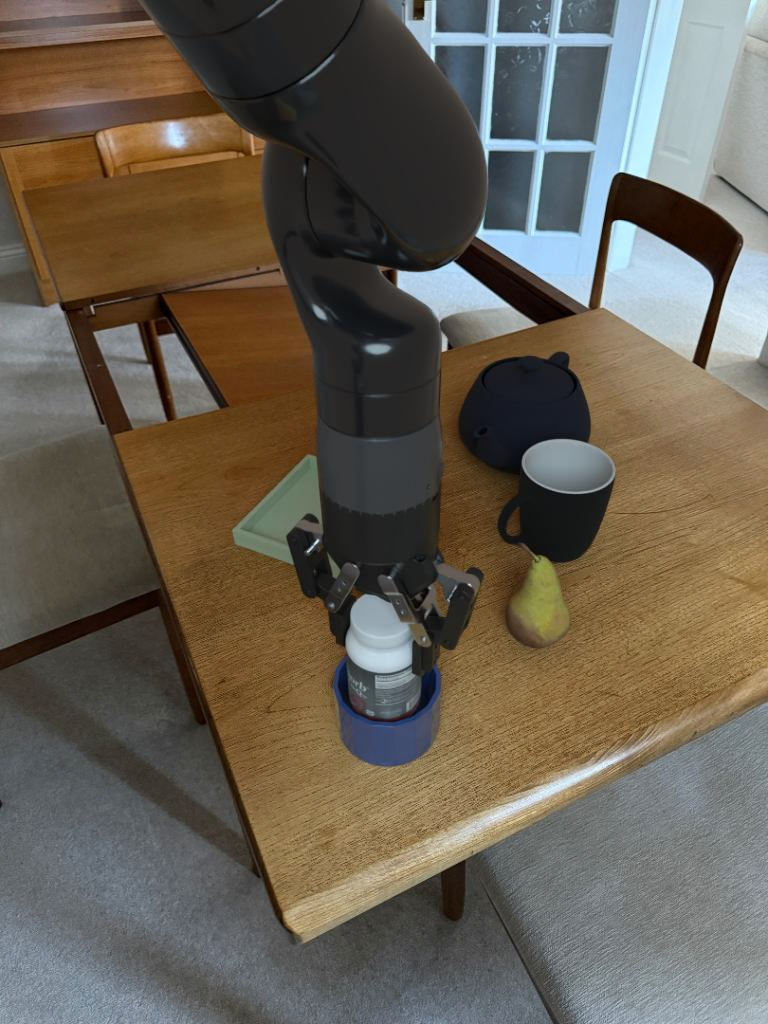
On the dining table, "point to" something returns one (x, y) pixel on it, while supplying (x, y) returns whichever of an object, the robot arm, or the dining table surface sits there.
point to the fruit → (538, 606)
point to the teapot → (522, 409)
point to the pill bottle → (380, 662)
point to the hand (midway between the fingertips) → (384, 651)
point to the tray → (283, 514)
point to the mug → (560, 498)
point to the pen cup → (388, 724)
